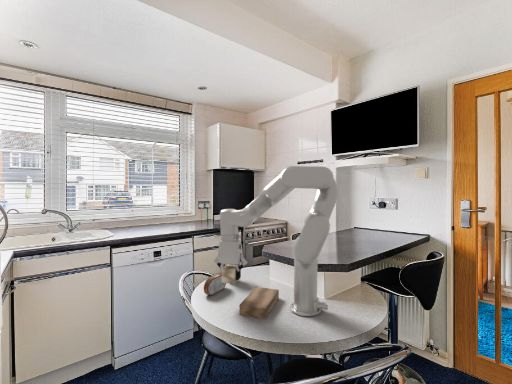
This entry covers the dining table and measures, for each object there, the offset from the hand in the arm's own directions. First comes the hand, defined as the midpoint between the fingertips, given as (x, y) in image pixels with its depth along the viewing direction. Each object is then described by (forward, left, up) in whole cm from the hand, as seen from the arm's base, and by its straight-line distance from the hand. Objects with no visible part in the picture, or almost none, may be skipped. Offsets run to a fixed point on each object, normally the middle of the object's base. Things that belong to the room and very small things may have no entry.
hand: (231, 278), depth 123 cm
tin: (+13, -10, -12) cm, 20 cm away
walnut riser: (-12, -3, -12) cm, 17 cm away
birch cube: (0, 0, -1) cm, 1 cm away
